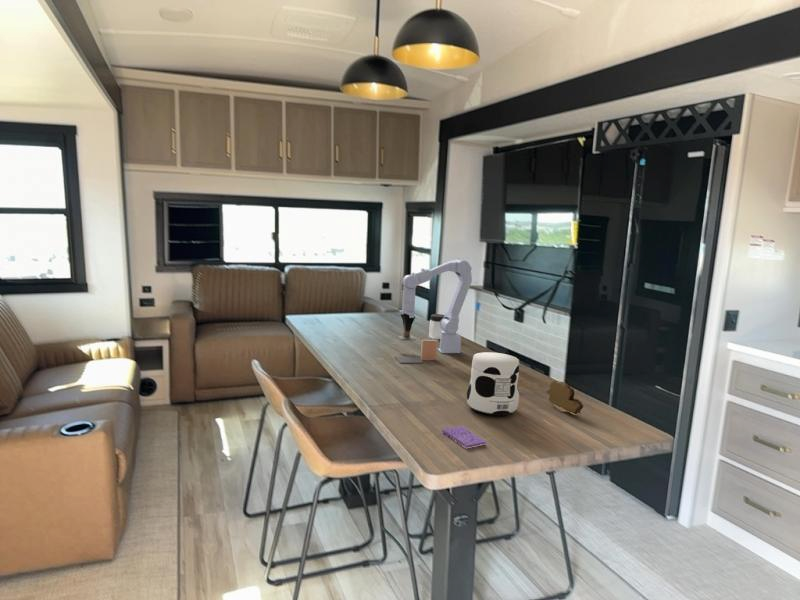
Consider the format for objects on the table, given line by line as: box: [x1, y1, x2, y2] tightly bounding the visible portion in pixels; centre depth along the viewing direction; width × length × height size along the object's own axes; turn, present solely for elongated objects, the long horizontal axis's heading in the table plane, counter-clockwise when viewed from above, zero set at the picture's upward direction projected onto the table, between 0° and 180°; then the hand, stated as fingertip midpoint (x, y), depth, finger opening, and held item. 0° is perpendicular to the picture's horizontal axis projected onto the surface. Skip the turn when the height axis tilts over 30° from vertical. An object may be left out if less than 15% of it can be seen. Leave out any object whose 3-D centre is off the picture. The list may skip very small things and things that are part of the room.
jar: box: [428, 313, 445, 340], centre depth 282 cm, size 9×8×12 cm
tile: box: [420, 339, 439, 361], centre depth 238 cm, size 7×1×9 cm, turn 104°
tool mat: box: [394, 355, 423, 365], centre depth 235 cm, size 10×10×1 cm
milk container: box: [466, 351, 520, 416], centre depth 178 cm, size 17×17×18 cm
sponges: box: [441, 425, 487, 448], centre depth 155 cm, size 7×13×2 cm, turn 29°
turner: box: [397, 322, 417, 341], centre depth 247 cm, size 7×6×9 cm
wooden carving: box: [545, 380, 584, 415], centre depth 182 cm, size 16×5×10 cm, turn 28°
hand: (407, 330), depth 248 cm, fingers closed on turner, 2 cm apart
